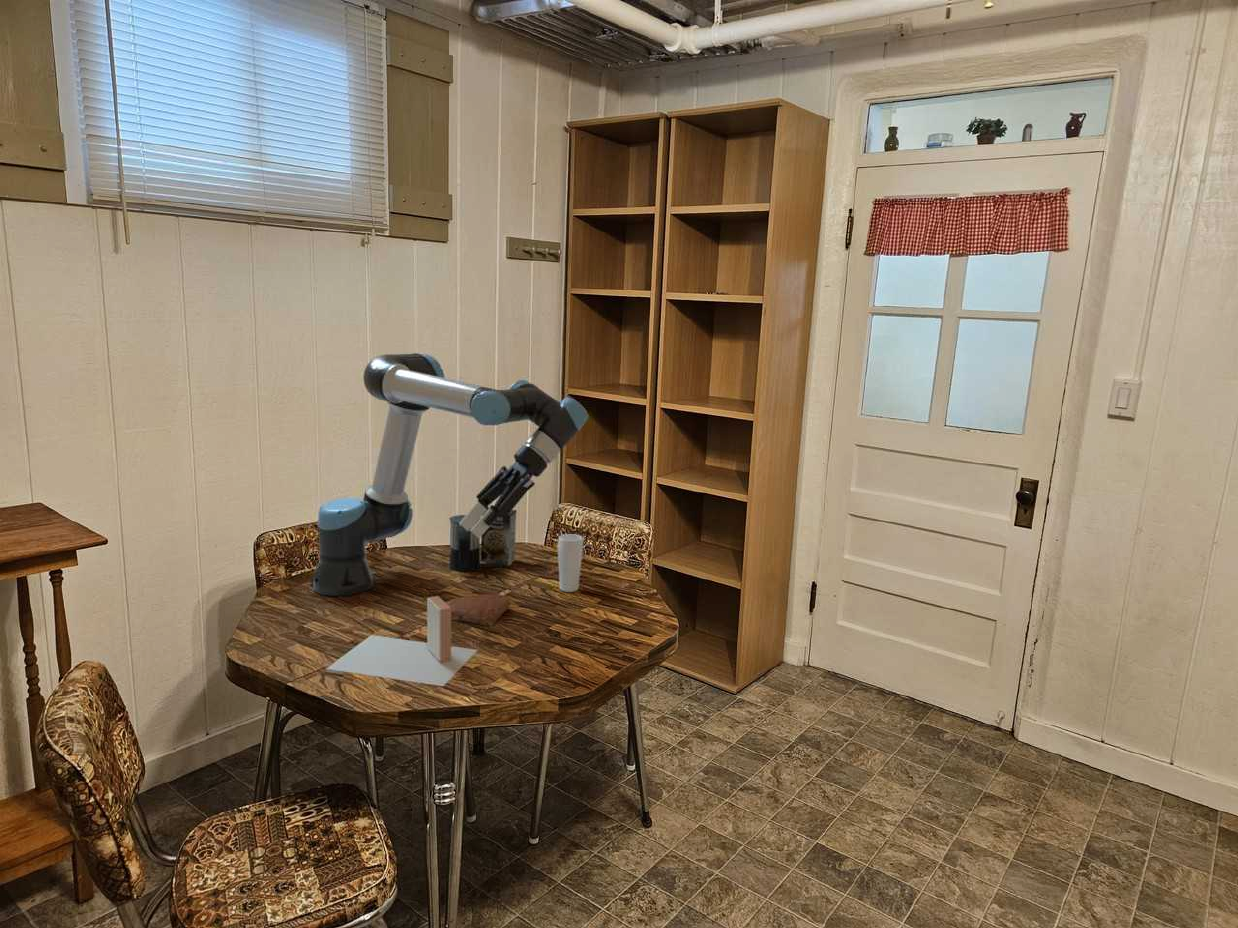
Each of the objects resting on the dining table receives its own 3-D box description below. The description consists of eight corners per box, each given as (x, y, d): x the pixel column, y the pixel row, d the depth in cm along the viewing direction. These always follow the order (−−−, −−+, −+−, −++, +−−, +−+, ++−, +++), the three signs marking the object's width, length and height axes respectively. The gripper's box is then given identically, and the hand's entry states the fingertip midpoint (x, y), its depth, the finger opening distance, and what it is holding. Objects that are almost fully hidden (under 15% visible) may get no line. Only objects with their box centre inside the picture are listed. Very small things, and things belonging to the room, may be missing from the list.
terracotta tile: (437, 646, 175) (437, 595, 173) (450, 660, 168) (451, 608, 166) (427, 649, 173) (426, 597, 171) (439, 663, 167) (439, 609, 165)
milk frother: (445, 563, 234) (445, 515, 232) (496, 558, 241) (496, 511, 239) (458, 578, 222) (458, 528, 219) (511, 572, 229) (512, 523, 226)
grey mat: (326, 672, 162) (326, 668, 162) (371, 638, 180) (371, 635, 179) (443, 689, 157) (443, 686, 157) (477, 653, 174) (477, 649, 174)
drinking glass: (561, 594, 213) (563, 541, 210) (553, 586, 219) (554, 534, 216) (584, 592, 215) (586, 539, 212) (576, 584, 221) (577, 533, 219)
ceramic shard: (459, 583, 204) (513, 597, 201) (454, 606, 204) (508, 621, 202) (436, 594, 189) (494, 610, 187) (431, 620, 190) (489, 636, 188)
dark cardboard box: (480, 563, 236) (480, 511, 233) (487, 557, 242) (487, 506, 239) (509, 566, 234) (510, 514, 231) (515, 560, 240) (516, 509, 237)
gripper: (565, 472, 176) (496, 552, 170) (528, 458, 191) (464, 530, 185) (545, 450, 172) (474, 531, 166) (508, 437, 187) (442, 510, 181)
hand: (469, 530), depth 176 cm, fingers open, 6 cm apart
